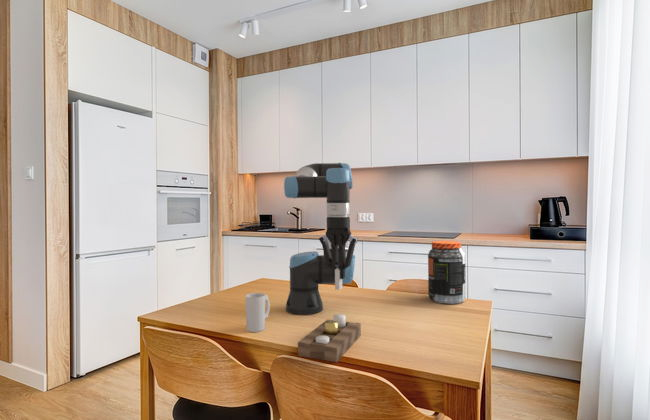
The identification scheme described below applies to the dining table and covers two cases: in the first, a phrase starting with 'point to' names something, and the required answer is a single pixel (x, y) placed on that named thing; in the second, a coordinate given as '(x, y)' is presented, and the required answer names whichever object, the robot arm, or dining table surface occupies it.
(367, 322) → the dining table surface
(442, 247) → the supplement tub
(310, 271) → the robot arm
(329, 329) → the plug brass
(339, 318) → the grey plug
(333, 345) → the socket block
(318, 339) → the grey plug
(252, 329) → the mug
